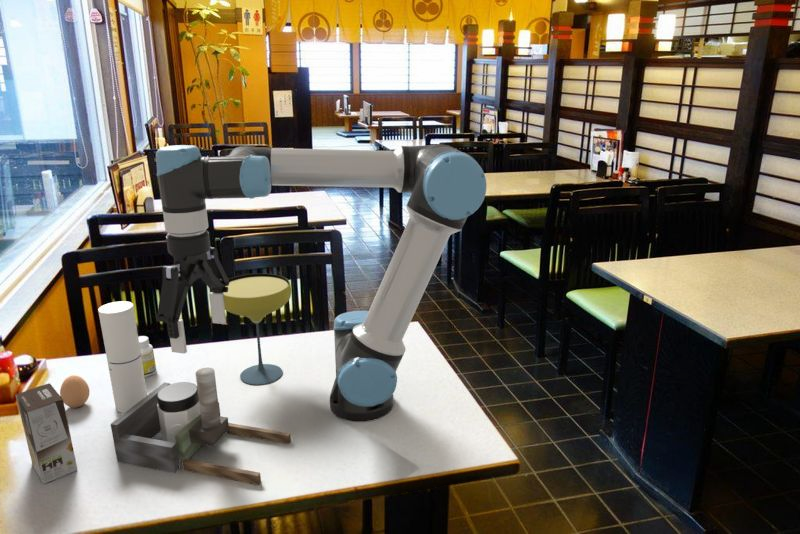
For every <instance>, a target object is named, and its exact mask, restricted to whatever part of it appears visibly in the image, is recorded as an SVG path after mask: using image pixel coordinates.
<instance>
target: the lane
mask: <svg viewBox="0 0 800 534" xmlns="http://www.w3.org/2000/svg"><path fill="white" fill-rule="evenodd" d="M170 384H171V383H170V382H163V383H162V384H160V385H159V386H158V387H156V388H155V389H154V390H152V391H151V392H150V393H148V394H147V396H146V397H145V398H143V399H142V400H141V401H140V402H138V403H137V404H136V405H134V406H133V407H132V408H130V409H129V410H128V411H127V412H123V414H121V415H120V416H119V417H117V418H116V419H115V420H113V422H111V423H110V429H111V434H112V440H113V445H114V451H115V456H116V462H117V463H118V464H119V463H120V464H124V465H129V466H136V467H140V468H146V469H150V470H157V471H161V472H165V473H166V472H167V473H172V474H177V472H178V471H179V470H180V468H181V466H180V461H179V460H178V453H177V446H176V443H173V442H167V441H162V439H161V440H159V439H155V438H154V437H156V436H157V435H158V434H159V433H161V429H160V422H159V416H158V409H157V404H158V400H157V394H158V392H159V391H160V390H161V389H162V388H164V387H166V386H168V385H170ZM218 406H219V414H220V415H221V407H220V402H219V401H218ZM228 424H229V430H228V431H227V433H226V434H230V435H235V436H241V437H246V438H253V439H257V440H265V441H271V442H275V443H276V442H277V443H282V444H288V445H289V444H290V443H291V442H292V438H291V436H292V435H291V432H287V431H286V432H285V431H280V430H275V429H274V430H273V429H268V428H263V427H255V426H249V425H243V424H236V423H230V422H228ZM181 464H182V469H183V471H184V472H189V473H196V474H201V475H207V476H211V477H216V478H222V479H226V480H227V479H228V480H232V481H237V482H243V483H247V484H248V483H249V484H254V485H259V484H260V483H261V481H262V480H261V478H262V477H261V473H260V471H259V472H258V471H254V470H248V469H243V468H242V469H241V468H237V467H230V466H226V465H221V464H215V463H210V462H204V461H199V460H194V459H190V458H189V459H185V460H184V461H183V462H182V463H181Z"/></svg>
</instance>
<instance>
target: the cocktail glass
mask: <svg viewBox="0 0 800 534" xmlns="http://www.w3.org/2000/svg"><path fill="white" fill-rule="evenodd" d="M228 280H229V285H228V286H225V287H228V292H223V295H224V307H225V312H228V313H230V314H233V315H236V316H240V317H245V318H248V319H249V320H250V321H251V322H252V323H254V324H255V327H256V330H255V331H256V340H257V341H256V342H257V354H258V357H257V358H258V364H255V365H252V366H250V367H247V368H245V369H244V370H243V371H241V373H240V375H239V377H240V378H239V379H240V380H241V381H242V382H243V383H244V384H247V385H252V386H262V385H268V384H271V383H274V382H275V381H277V380H279V379H280V378H281V377H282V375H283V370H282V368H281V367H280V366H278V365H276V364H271V363H263V358H262V349H261V348H262V347H261V339H260V326H259V323H261V322H262V321H263V319H264V318H265V317H266V316H267V315H269V314H272V313H274V312H277V311H278V310H280V309H281V308H283V307H284V306H285V305H286V304H287V303H288V302H289V300H291V296H292V286H291V282H290V280H289V279H288V278H286V277H285V276H283V275H280V274H274V273H248V274H242V275H237V276H234V277H231V278H228Z"/></svg>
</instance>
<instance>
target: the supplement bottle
mask: <svg viewBox="0 0 800 534" xmlns="http://www.w3.org/2000/svg"><path fill="white" fill-rule="evenodd" d="M138 339H139V345H140V351H141V358H142V364H143V371H144V378H147V377H151V376H153V375H154V374H155V373H156V372H157V366H156V358H155V352H154V347H153V345H152V344H150V340H149V337H148V336H146V335H138Z"/></svg>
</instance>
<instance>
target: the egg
mask: <svg viewBox="0 0 800 534" xmlns="http://www.w3.org/2000/svg"><path fill="white" fill-rule="evenodd" d="M59 391H60V392H59V395H60V396H61V397H62V399H63V402H64V405H65V406H67V407H69V408H73V409H74V408H79V407H80V408H81V407H82V406H83V405H85V403H86V402H87V401H88V399H89V396H90V387H89V385H88V383H87V381H86V380H85V379H84V378H82V376H80V375H75V374H74V375H70V376H68V377H66V378H65V379H63V382H62V384H61V386H60V389H59Z"/></svg>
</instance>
